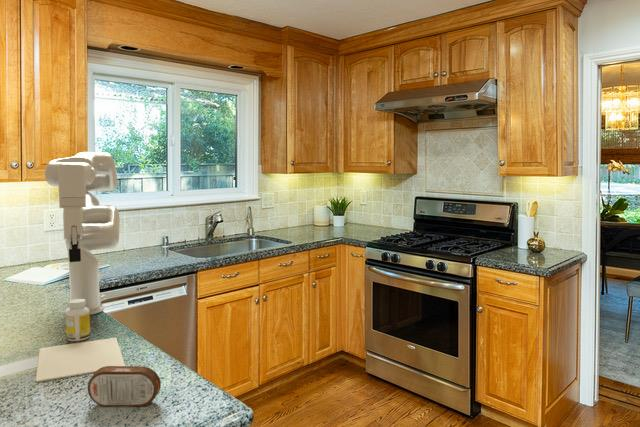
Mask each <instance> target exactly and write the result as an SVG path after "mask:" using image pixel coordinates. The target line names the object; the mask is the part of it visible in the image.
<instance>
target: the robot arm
mask: <svg viewBox="0 0 640 427" xmlns="http://www.w3.org/2000/svg"><path fill="white" fill-rule="evenodd" d="M44 178H45V181H46V182H47V184H48V185H50V186H53V187H58V198H59V199H58V203H59V204H58V206H59V209H63V211H62V217H63V218H62V221H63V226H62V227H63V239H64V242H65V246H66V250H67V256H68V257H67V258H68V274H69V275H68V277H69V279H68V280H69V301H70V300H74V299H85V300H86V305H85V307H87V308H88V309H89V314H90V316H92V315H96V314H99V313H101V312H103V311H105V308H106V307H105V305H104V304H102V302H104V301H105V300H107V299H108V296H107V295H106V294H100V269H99V261H98V258H97V257H96V256H95V255H94V254H93V253H92V252H91V251H96V250H97V251H101V250H104V251H105V250H112V249H116V248H117V247H118V245H119V241H120V222H121V221H120V212H119V210H118V208H117V207H116V206H114V205H100V202H99V200H98V198H97V197H96V196H95V195H94V194H93V193H92V192H110V191H111V192H113V191H114V190H115V189H116V188H117V185H118V176H117V169H116V162H115V160H114V157H113V155H111V154H110V153H109V152H97V151H95V152H93V151H92V152H91V151H90V152H89V151H83V152H78V153H77V154H75V155H74V156H70V157H64V158H63V157H62V158H57V159H53V160H51V161H49V162H48V163H47V165H46V166H45V170H44ZM68 309H69V307H68V308H66V309H65V312H66V311H67V310H68Z"/></svg>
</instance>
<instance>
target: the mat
mask: <svg viewBox="0 0 640 427" xmlns="http://www.w3.org/2000/svg"><path fill="white" fill-rule="evenodd" d="M37 360H38V361H37V368H36V377H35V383H41V382H42V383H43V382H47V381H52V380H53V381H54V380H58V379H66V378H71V376H72V377H76V376H77V375H78V376H83V375H89V374H94V372H96V371H97V370H98V369H100V368H102V367H105V366H126V364H125V360H124V357H123V355H122V351H121V348H120V345H119V343H118V340H117V337H110V338H104V339H97V340H88V341H83V342H81V341H80V342H75V343H69V344H63V345H62V344H61V345H54V346H47V347H41V348H40V347H39V352H38V359H37Z"/></svg>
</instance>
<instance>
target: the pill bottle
mask: <svg viewBox="0 0 640 427" xmlns="http://www.w3.org/2000/svg"><path fill="white" fill-rule="evenodd" d="M67 303H68V304H67V306H68V308H69V309H68V310H67V311H66V310H65V315H64V316H65V333H66V334H65V335H66V340H67V341H70V342H81V341H84V340H87V339H89V338H90V337H91V320H90V319H91V318H90V317H91V315H90V314H89V309H88V308H87V307H85V305H86V300H85V299H74V300H70V299H69V300H68V301H67Z"/></svg>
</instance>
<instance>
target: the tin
mask: <svg viewBox="0 0 640 427" xmlns="http://www.w3.org/2000/svg"><path fill="white" fill-rule="evenodd" d="M92 374H93V375H92V376H91V377H90V379H89V381H88V383H87V392H88V396H89V398H90V399H91V401H92V402H93V403H95V404H97V405H99V406H101V407H105V406H141V407H145V405H146V406H148V405H149V404H151V403H152V402H153V401H154V400H155V398H156V397H157V396H158V394H159V393H160V390H161V384H162V383H161V379H160V376H159V375H158V374H157V372H156V371H155V370H154V369H152V368H150V367H147V366H144V365H139V366H137V365H133V366H131V365H129V366H128V365H125V366H105V367H102V368H100V369H98V370H97V371H96V372H95V373H92Z"/></svg>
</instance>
